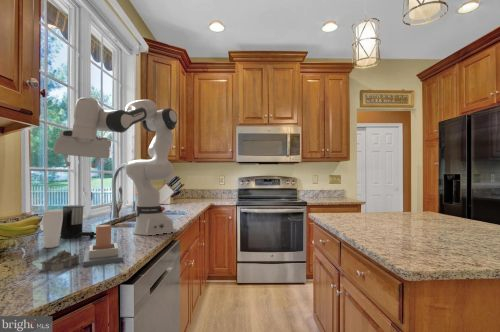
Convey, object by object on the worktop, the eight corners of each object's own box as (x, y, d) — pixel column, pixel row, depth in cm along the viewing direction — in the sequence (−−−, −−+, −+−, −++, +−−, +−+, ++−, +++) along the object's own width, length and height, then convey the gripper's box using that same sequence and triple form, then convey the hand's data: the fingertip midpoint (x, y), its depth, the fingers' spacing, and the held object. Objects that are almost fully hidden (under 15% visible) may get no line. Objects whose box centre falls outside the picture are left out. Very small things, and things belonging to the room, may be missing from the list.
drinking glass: (50, 249, 108) (52, 212, 108) (36, 248, 109) (38, 211, 110) (65, 245, 114) (67, 210, 115) (52, 244, 116) (54, 209, 116)
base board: (119, 250, 109) (120, 240, 109) (122, 261, 95) (123, 250, 95) (85, 253, 103) (85, 243, 103) (83, 266, 89) (83, 254, 89)
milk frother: (62, 235, 133) (64, 205, 134) (99, 233, 139) (100, 204, 140) (55, 241, 120) (56, 208, 121) (95, 239, 126) (96, 207, 127)
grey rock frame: (65, 260, 95) (65, 249, 96) (83, 262, 94) (84, 250, 94) (36, 270, 85) (37, 257, 85) (56, 273, 84) (57, 259, 84)
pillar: (106, 250, 103) (106, 224, 103) (113, 252, 100) (114, 225, 100) (92, 253, 98) (93, 226, 98) (99, 256, 96) (100, 228, 96)
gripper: (110, 138, 123) (107, 168, 122) (56, 132, 112) (52, 165, 111) (112, 137, 118) (109, 169, 117) (55, 130, 106) (51, 165, 106)
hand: (81, 167), depth 114 cm, fingers open, 8 cm apart
